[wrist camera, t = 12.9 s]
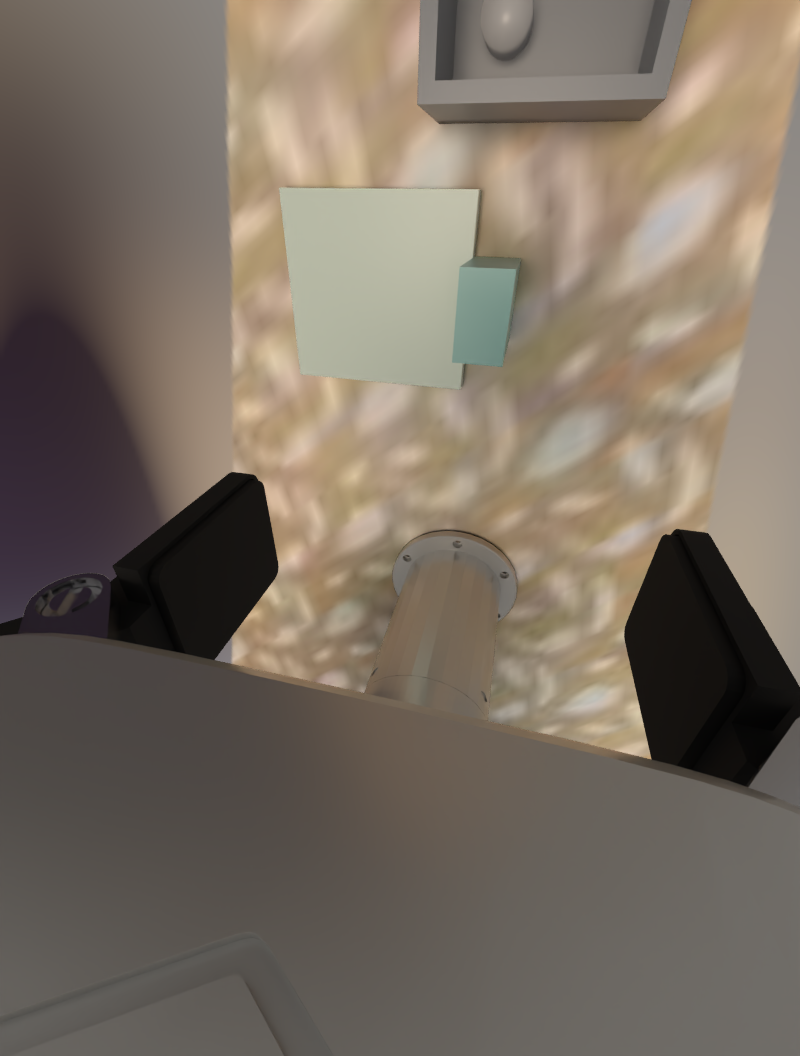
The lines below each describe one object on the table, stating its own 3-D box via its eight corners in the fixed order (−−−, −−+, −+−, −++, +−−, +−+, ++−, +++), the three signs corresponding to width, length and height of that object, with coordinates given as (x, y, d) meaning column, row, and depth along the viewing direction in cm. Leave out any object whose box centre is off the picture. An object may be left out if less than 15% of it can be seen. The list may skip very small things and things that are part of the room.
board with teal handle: (306, 370, 37) (265, 398, 31) (287, 188, 30) (230, 183, 24) (501, 388, 34) (494, 423, 28) (531, 190, 27) (528, 184, 21)
